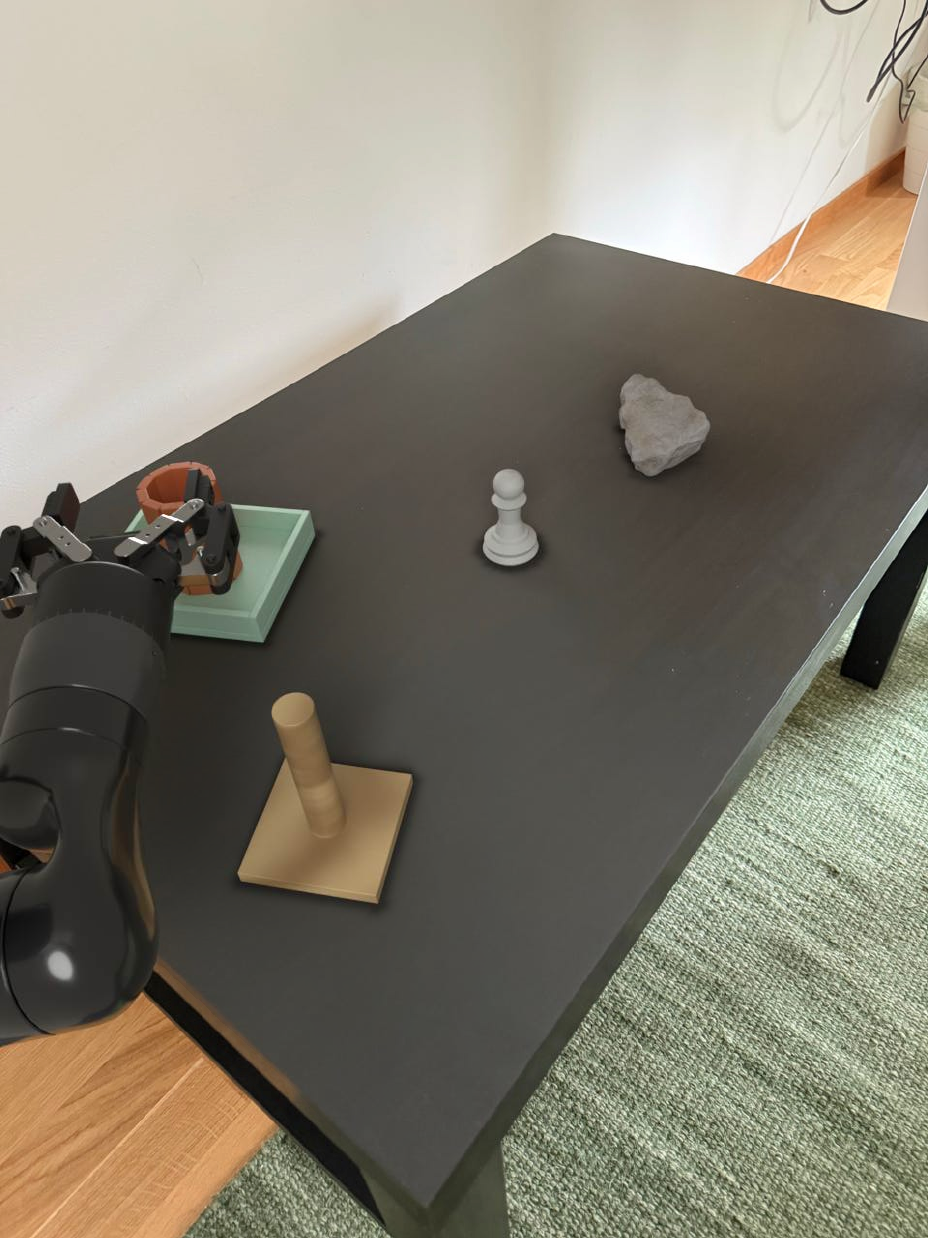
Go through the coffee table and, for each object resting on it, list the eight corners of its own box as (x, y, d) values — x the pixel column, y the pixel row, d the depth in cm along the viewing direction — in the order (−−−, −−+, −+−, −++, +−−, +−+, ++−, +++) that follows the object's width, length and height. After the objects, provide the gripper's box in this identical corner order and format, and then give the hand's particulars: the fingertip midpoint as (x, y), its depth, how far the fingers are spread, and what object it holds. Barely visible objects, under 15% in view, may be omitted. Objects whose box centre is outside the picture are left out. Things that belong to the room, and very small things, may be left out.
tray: (89, 623, 76) (77, 599, 74) (158, 521, 85) (148, 497, 83) (263, 643, 73) (255, 618, 71) (315, 535, 82) (310, 510, 80)
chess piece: (502, 575, 77) (498, 498, 71) (472, 544, 80) (467, 468, 74) (549, 553, 78) (549, 476, 73) (518, 524, 81) (516, 448, 75)
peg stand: (240, 881, 58) (185, 763, 49) (288, 765, 64) (246, 642, 56) (377, 904, 57) (346, 786, 48) (413, 782, 63) (391, 658, 54)
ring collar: (157, 592, 77) (122, 506, 70) (188, 543, 81) (157, 458, 75) (224, 599, 76) (195, 512, 69) (252, 550, 80) (226, 464, 73)
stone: (585, 436, 90) (587, 382, 86) (655, 411, 92) (660, 358, 88) (643, 489, 83) (648, 434, 79) (716, 462, 86) (725, 407, 82)
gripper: (206, 601, 48) (227, 426, 60) (-71, 633, 48) (3, 451, 59) (239, 693, 54) (252, 517, 65) (-10, 723, 53) (47, 540, 65)
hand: (134, 485), depth 62 cm, fingers open, 8 cm apart
